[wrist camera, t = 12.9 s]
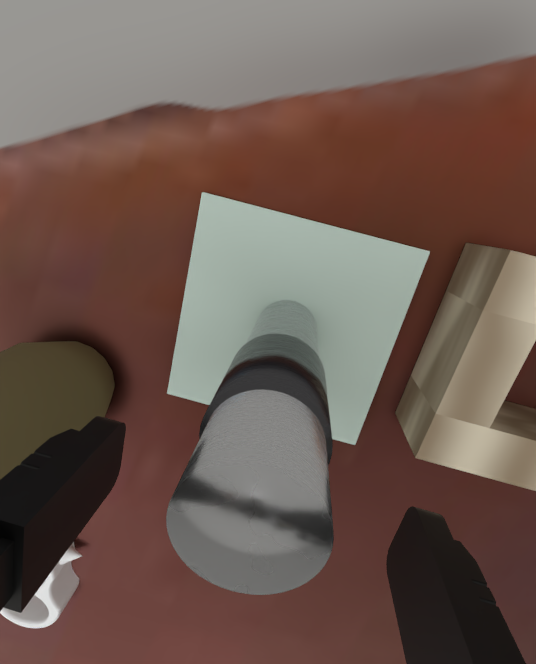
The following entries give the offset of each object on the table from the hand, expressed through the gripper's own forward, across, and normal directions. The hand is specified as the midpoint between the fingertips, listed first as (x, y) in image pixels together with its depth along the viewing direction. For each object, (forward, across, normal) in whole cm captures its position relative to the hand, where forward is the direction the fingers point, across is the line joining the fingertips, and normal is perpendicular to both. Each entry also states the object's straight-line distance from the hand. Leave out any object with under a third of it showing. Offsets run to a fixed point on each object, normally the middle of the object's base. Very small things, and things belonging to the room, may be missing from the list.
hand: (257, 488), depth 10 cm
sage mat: (+15, 0, 0) cm, 15 cm away
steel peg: (+15, 0, 0) cm, 15 cm away
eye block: (+15, -15, -2) cm, 21 cm away
